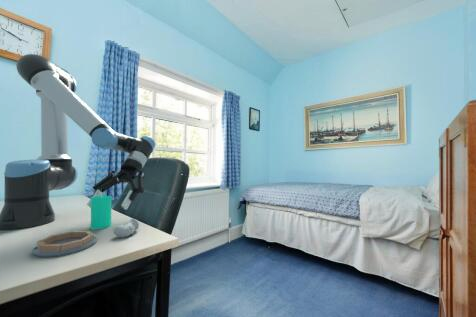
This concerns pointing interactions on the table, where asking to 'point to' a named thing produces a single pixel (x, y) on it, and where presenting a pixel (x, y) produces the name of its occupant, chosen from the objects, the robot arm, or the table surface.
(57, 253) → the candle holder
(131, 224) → the grey curved figurine
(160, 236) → the table surface
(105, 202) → the candle
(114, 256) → the table surface
